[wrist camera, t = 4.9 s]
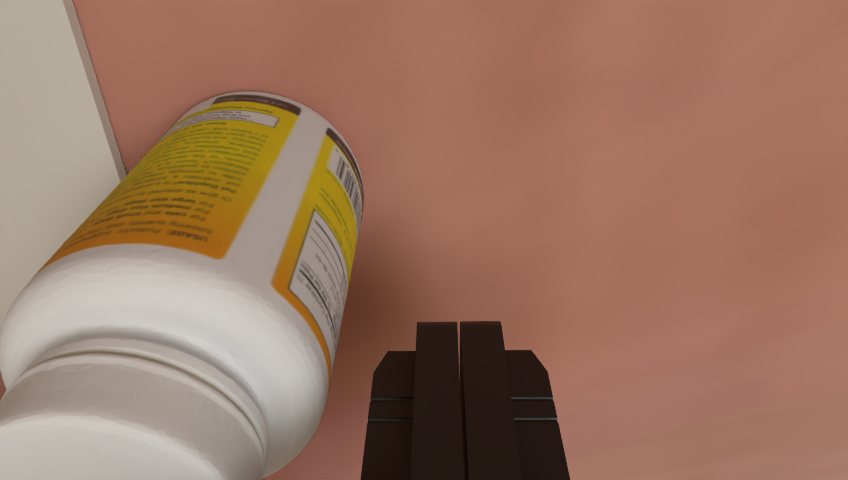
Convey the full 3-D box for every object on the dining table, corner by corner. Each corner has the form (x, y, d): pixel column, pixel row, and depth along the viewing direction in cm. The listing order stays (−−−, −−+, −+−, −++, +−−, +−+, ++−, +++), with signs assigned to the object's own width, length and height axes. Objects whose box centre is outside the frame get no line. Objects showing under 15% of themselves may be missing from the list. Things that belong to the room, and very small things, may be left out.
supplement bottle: (131, 182, 17) (-168, 513, 9) (242, 37, 15) (-15, 291, 7) (290, 291, 19) (173, 646, 11) (408, 177, 17) (380, 513, 9)
